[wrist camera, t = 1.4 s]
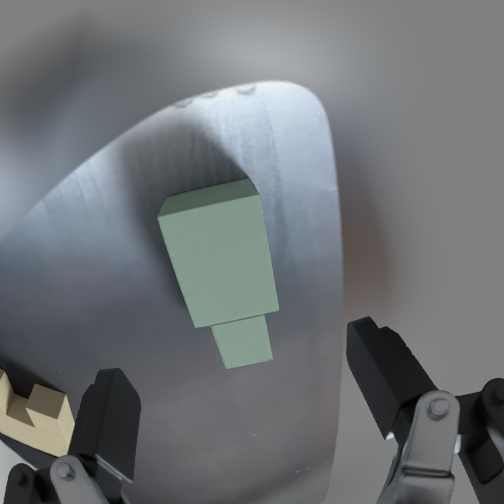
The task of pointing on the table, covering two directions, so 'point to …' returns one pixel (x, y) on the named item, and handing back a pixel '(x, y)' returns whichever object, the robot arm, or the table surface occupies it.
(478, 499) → the robot arm
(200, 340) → the table surface
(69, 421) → the notch pad
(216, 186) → the pad
